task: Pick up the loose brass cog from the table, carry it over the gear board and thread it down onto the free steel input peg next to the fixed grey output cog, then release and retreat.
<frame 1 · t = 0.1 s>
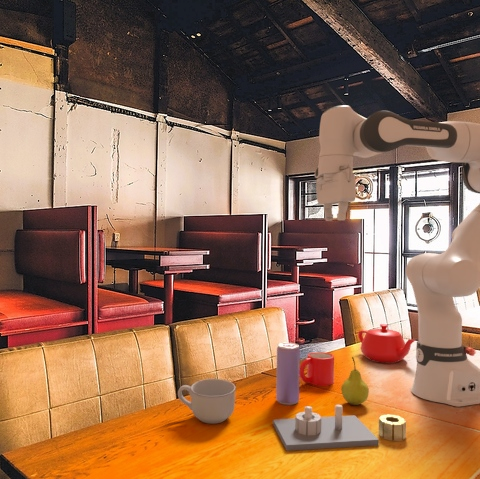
hand: (335, 220, 126), 48 cm above the table, fingers open, 8 cm apart
teapot: (385, 360, 166), on the table
brass gear: (392, 435, 105), on the table
gear board: (323, 434, 105), on the table
teacup: (206, 418, 114), on the table
mug: (315, 383, 141), on the table
beverage can: (287, 402, 125), on the table
fruit: (354, 404, 124), on the table
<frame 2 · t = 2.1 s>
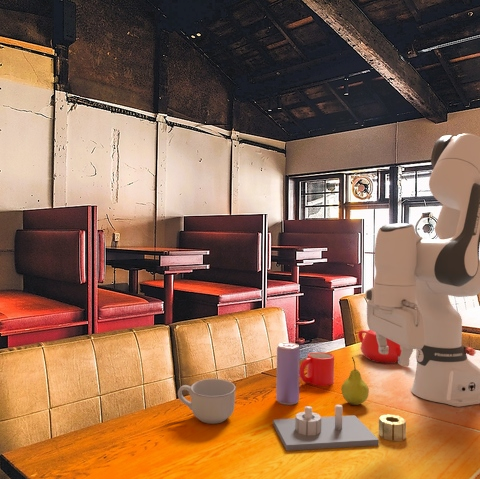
hand: (393, 359, 104), 17 cm above the table, fingers open, 8 cm apart
nothing on the table moved.
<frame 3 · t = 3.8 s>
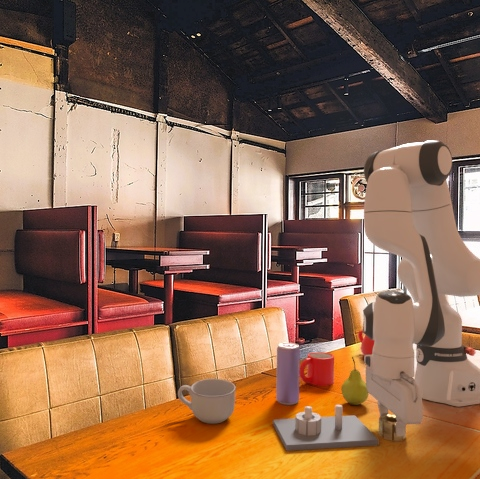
hand: (391, 427, 105), 2 cm above the table, fingers closed on brass gear, 5 cm apart
brass gear: (392, 435, 105), on the table, touching gripper
everything else where it was.
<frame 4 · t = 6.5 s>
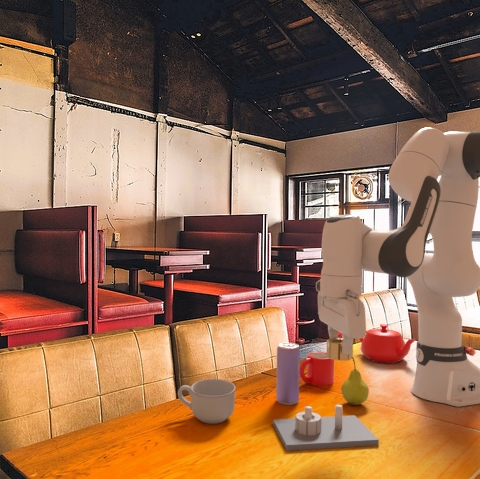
hand: (339, 349, 105), 19 cm above the table, fingers closed on brass gear, 5 cm apart
brass gear: (339, 357, 105), point 17 cm above the table, touching gripper
everything else where it was.
when the fingers open (4 cm above the table, at t = 9.1 s): brass gear drops 1 cm, resting on gear board.
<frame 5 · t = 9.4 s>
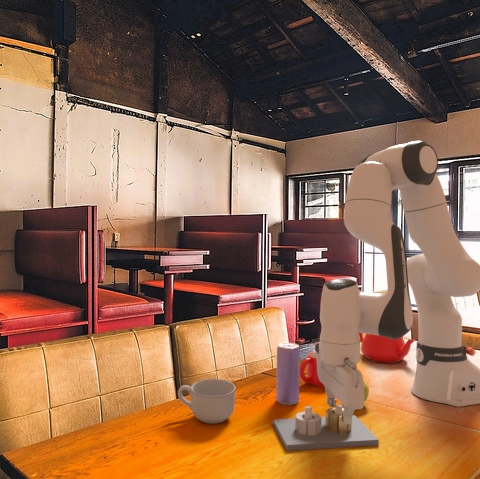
hand: (338, 414, 106), 4 cm above the table, fingers open, 8 cm apart
brass gear: (338, 428, 106), point 1 cm above the table, touching gear board
everything else where it was.
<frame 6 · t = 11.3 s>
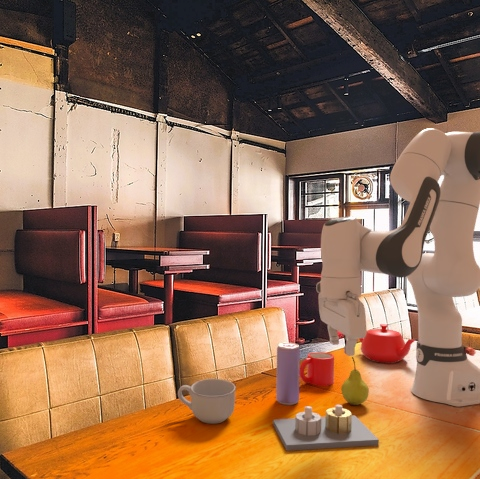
hand: (341, 349, 108), 18 cm above the table, fingers open, 8 cm apart
nothing on the table moved.
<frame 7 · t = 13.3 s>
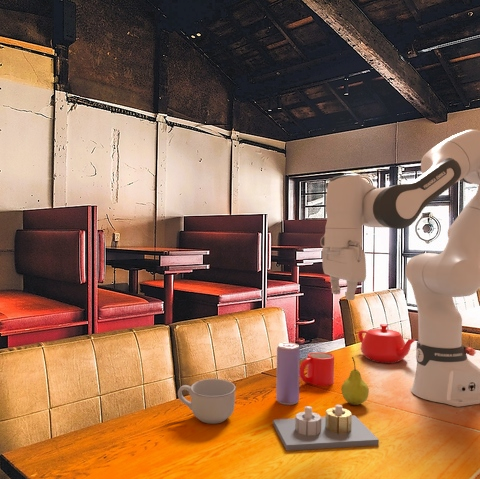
hand: (342, 296, 116), 29 cm above the table, fingers open, 8 cm apart
nothing on the table moved.
at the end: brass gear 0.0 cm from the target spot on the gear board, point 1.2 cm above the gear board's base; brass gear tilted 0°; the gripper is holding nothing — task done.
